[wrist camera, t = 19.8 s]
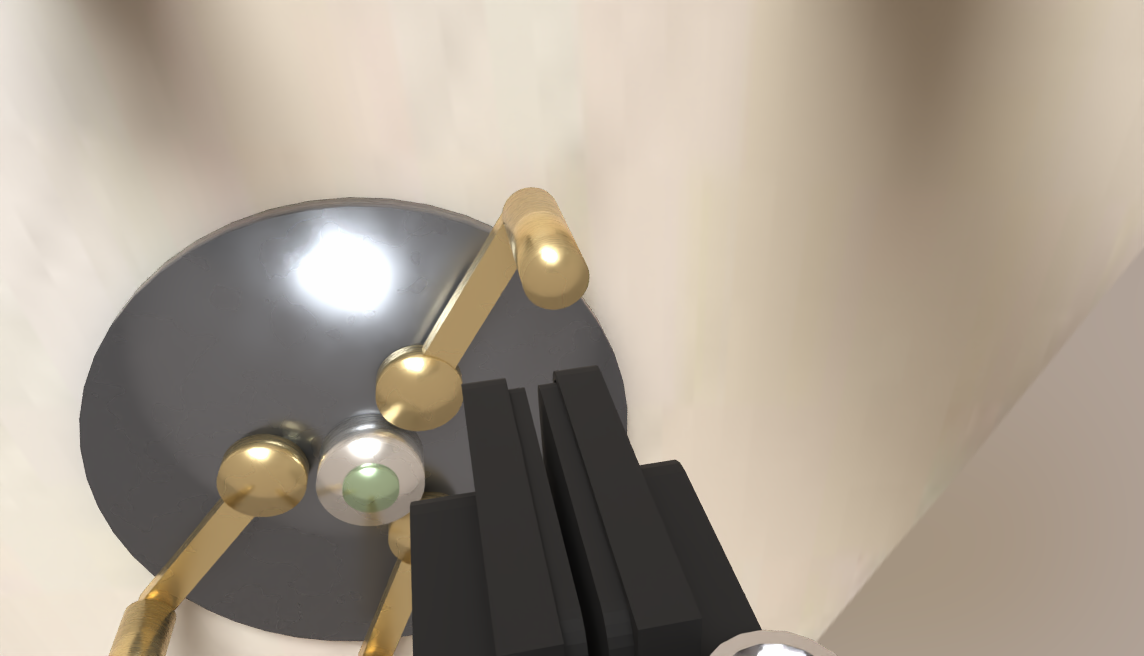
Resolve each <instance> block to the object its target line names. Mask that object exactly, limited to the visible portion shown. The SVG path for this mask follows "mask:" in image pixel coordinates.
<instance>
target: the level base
mask: <svg viewBox="0 0 1144 656" xmlns="http://www.w3.org/2000/svg"><path fill="white" fill-rule="evenodd" d="M492 229H493V227H492V226H490V225H487V224H485V223H483V222H480V221H478V220H476V219H473V218H471V217H468V216H466V215H463V214H459V213H456V212H452V211H449V210H445V209H442V208H438V207H435V206H431V205H427V204H420V203H414V202H407V201H401V200H395V199H382V198H353V197H349V198H337V199H326V200H314V201H307V202H302V203H297V204H293V205H288V206H283V207H278V208H274V209H269V210H266V211H264V212H261V213H258V214H255V215H252V216H249V217H246V218H244V219H241V220H238V221H235V222H232V223H230V224H228V225H226V226H224V227H222V228H220V229H218V230H216V231H214V232H212V233H210V234H208V235H206V236H204V237H202V238H200V239H198V240H197V241H195V242H194V243H192V244H191V245H189V246H188V247H187V248H185V249H184V250H182V251H181V252H179V253H178V254H177V255H175V256H174V257H172V258H171V259H169V260H168V261H166V262H165V263H164V264H163V265H162V266H161V267H160V268H159V269H158V270H157V271H156V272H155V273H154V274H153V275H151V276H150V277H149V278H148V279H147V280H146V281H145V282H144V283H143V284H142V285H141V286H140V287H139V288H138V289H137V291H136V292H135V293H134V295H133V296H132V297H131V298H130V300H129V301H128V302H127V304H126V305H125V306H124V307H123V309H122V310H121V311H120V313H119V314H118V315H117V317H116V319H115V320H114V322H113V323H112V325H111V327H110V329H109V330H108V332H107V334H106V336H105V338H104V340H103V341H102V343H101V345H100V347H99V349H98V351H97V353H96V354H95V356H94V359H93V362H92V365H91V368H90V371H89V374H88V377H87V380H86V383H85V386H84V390H83V397H82V404H81V411H80V418H79V422H80V449H81V454H82V459H83V463H84V468H85V473H86V477H87V480H88V483H89V485H90V488H91V490H92V493H93V495H94V498H95V500H96V503H97V505H98V508H99V509H100V511H101V513H102V514H103V516H104V518H105V519H106V521H107V523H108V524H109V526H110V528H111V529H112V531H113V533H114V534H115V535H116V536H117V537H118V539H119V540H120V541H121V542H122V544H123V545H124V546H125V547H126V548H127V550H128V551H129V552H130V553H131V555H132V556H133V557H134V558H135V559H137V560H138V561H139V562H140V563H141V564H142V565H143V566H144V567H145V568H146V569H147V570H148V571H149V572H151V573H152V574H153V575H154V576H155V577H156V575H157V574H158V573H159V572H160V571H161V569H162V568H163V567H164V566H165V565H166V563H167V562H168V561H169V560H170V559H171V557H172V556H173V555H174V554H175V553H176V551H177V550H178V549H179V548H180V546H181V545H182V544H183V543H184V542H185V540H186V539H187V538H188V537H189V536H190V534H191V533H192V532H193V531H194V530H195V528H196V527H197V526H198V525H199V524H200V522H201V521H202V520H203V519H204V518H205V516H206V515H207V514H208V513H209V512H210V510H211V509H212V508H213V507H214V506H215V504H216V503H217V502H218V501H219V500H220V498H221V496H220V495H219V492H218V489H217V476H218V472H219V469H220V465H221V462H222V459H223V456H224V454H225V452H226V451H227V449H228V448H229V447H230V446H231V445H233V444H234V443H235V442H237V441H238V440H240V439H242V438H245V437H248V436H252V435H257V434H271V435H277V436H280V437H284V438H286V439H288V440H290V441H292V442H294V443H295V444H296V445H298V446H299V447H300V448H301V449H302V451H303V452H304V453H305V455H306V457H307V459H308V463H309V474H308V481H307V488H306V492H305V495H304V496H303V498H302V500H301V501H300V502H299V503H298V504H297V505H296V506H295V507H294V508H292V509H291V510H289V511H287V512H285V513H283V514H279V515H276V516H270V517H254V518H253V519H252V520H251V521H250V522H249V524H248V525H247V526H246V527H245V528H244V529H243V531H242V532H241V533H240V534H239V535H238V537H237V538H236V539H235V540H234V541H233V542H232V544H231V545H230V546H229V547H228V548H227V549H226V551H225V552H224V553H223V554H222V555H221V556H220V558H219V559H218V560H217V561H216V562H215V563H214V565H213V566H212V567H211V568H210V569H209V570H208V572H207V573H206V574H205V575H204V576H203V578H202V579H201V580H200V581H199V582H198V583H197V585H196V586H195V587H194V588H193V589H192V590H191V592H190V593H189V594H188V595H187V596H186V597H185V598H187V599H189V600H191V601H192V602H194V603H196V604H198V605H200V606H201V607H203V608H205V609H207V610H209V611H211V612H214V613H216V614H219V615H221V616H223V617H226V618H228V619H230V620H233V621H235V622H238V623H241V624H245V625H248V626H251V627H255V628H258V629H261V630H264V631H269V632H274V633H279V634H284V635H289V636H293V637H300V638H309V639H319V640H330V641H364V639H365V637H366V634H367V632H368V629H369V627H370V624H371V622H372V619H373V617H374V615H375V612H376V610H377V607H378V605H379V602H380V600H381V597H382V595H383V593H384V590H385V588H386V585H387V583H388V580H389V578H390V575H391V573H392V571H393V568H394V566H395V563H396V561H397V557H396V556H395V555H394V554H393V553H392V551H391V549H390V547H389V543H388V523H391V522H393V521H396V520H398V519H400V518H402V517H404V516H405V515H407V514H408V513H409V512H410V503H411V502H413V501H419V500H420V499H421V497H422V495H423V492H440V493H444V494H447V495H449V496H450V495H457V494H463V493H469V492H475V487H474V479H473V472H472V464H471V456H470V449H469V441H468V433H467V426H466V418H465V410H464V403H463V402H462V405H461V407H460V409H459V411H458V412H457V414H456V415H455V416H454V417H453V418H452V419H451V420H450V421H448V422H447V423H445V424H444V425H442V426H440V427H437V428H435V429H431V430H426V431H410V430H405V429H402V428H399V427H397V426H395V425H393V424H391V423H390V422H389V421H387V420H386V419H385V418H384V417H383V415H382V414H381V413H380V411H379V409H378V407H377V404H376V395H375V393H376V376H377V372H378V370H379V368H380V366H381V364H382V363H383V361H384V360H385V359H386V358H387V357H388V356H389V355H391V354H392V353H393V352H395V351H397V350H399V349H401V348H404V347H407V346H412V345H423V344H424V343H425V341H426V339H427V338H428V336H429V334H430V333H431V331H432V329H433V328H434V326H435V324H436V323H437V321H438V319H439V318H440V316H441V314H442V313H443V311H444V309H445V308H446V306H447V304H448V303H449V301H450V299H451V298H452V296H453V294H454V292H455V291H456V289H457V287H458V286H459V284H460V282H461V281H462V279H463V277H464V276H465V274H466V272H467V271H468V269H469V267H470V266H471V264H472V262H473V261H474V259H475V257H476V256H477V254H478V252H479V251H480V249H481V247H482V246H483V244H484V242H485V241H486V239H487V237H488V236H489V234H490V232H491V231H492ZM593 365H597V366H598V367H599V369H600V371H601V373H602V376H603V378H604V380H605V383H606V385H607V388H608V390H609V393H610V395H611V397H612V400H613V402H614V405H615V407H616V410H617V412H618V414H619V417H620V419H621V422H622V424H623V427H624V429H625V431H626V434H627V404H626V398H625V391H624V384H623V380H622V376H621V373H620V370H619V367H618V364H617V361H616V357H615V354H614V352H613V350H612V348H611V345H610V343H609V341H608V339H607V337H606V335H605V333H604V331H603V329H602V327H601V325H600V323H599V321H598V319H597V317H596V316H595V314H594V313H593V311H592V310H591V309H590V307H589V306H588V304H587V303H586V301H585V300H584V299H583V297H581V298H580V299H579V300H578V301H577V302H575V303H574V304H572V305H570V306H568V307H566V308H563V309H557V310H549V309H544V308H541V307H539V306H537V305H535V304H534V303H532V302H531V301H530V300H529V298H528V297H527V296H526V294H525V292H524V289H523V286H522V282H521V279H520V276H519V273H518V269H516V271H515V273H514V274H513V276H512V277H511V279H510V281H509V282H508V284H507V286H506V287H505V289H504V290H503V292H502V294H501V295H500V297H499V298H498V300H497V302H496V303H495V305H494V306H493V308H492V310H491V311H490V313H489V315H488V316H487V318H486V319H485V321H484V323H483V324H482V326H481V327H480V329H479V331H478V332H477V334H476V335H475V337H474V339H473V340H472V342H471V344H470V345H469V347H468V348H467V350H466V352H465V353H464V355H463V356H462V358H461V360H460V361H459V363H458V366H459V368H460V371H461V374H462V382H463V384H465V383H472V382H479V381H486V380H493V379H500V378H505V379H506V382H507V387H508V389H514V388H521V387H524V388H525V391H526V394H527V398H528V402H529V406H530V410H531V414H532V418H533V422H534V426H535V430H536V434H537V438H538V442H539V446H540V450H541V454H542V458H543V453H542V440H541V428H540V416H539V403H538V385H542V384H549V383H553V371H557V370H564V369H571V368H578V367H586V366H593ZM408 635H413V631H412V612H411V614H410V616H409V619H408V621H407V623H406V626H405V628H404V630H403V633H402V635H401V637H402V636H408Z"/></svg>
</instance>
